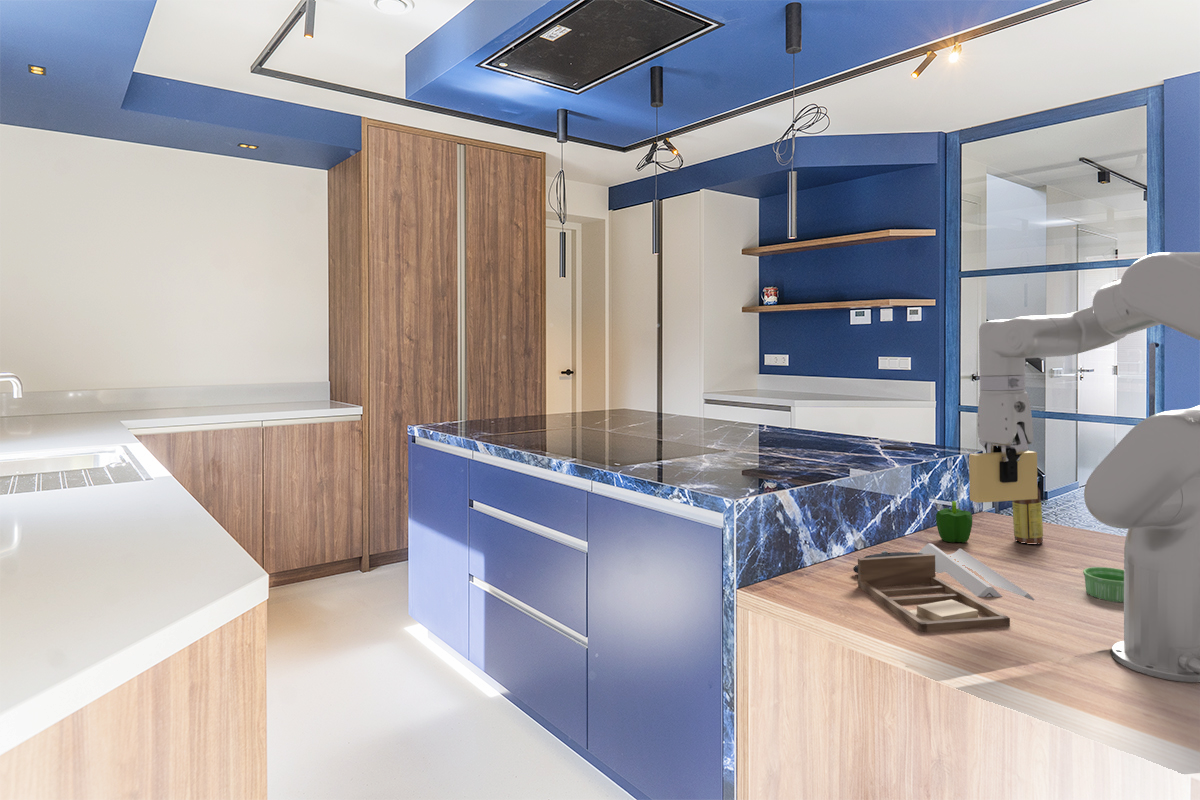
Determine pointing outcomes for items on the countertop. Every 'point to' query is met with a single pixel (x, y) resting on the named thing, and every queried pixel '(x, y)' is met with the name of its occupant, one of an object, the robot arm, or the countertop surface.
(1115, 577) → the ramekin
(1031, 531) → the sauce bottle
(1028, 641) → the countertop surface
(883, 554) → the can opener
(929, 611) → the offcut upper
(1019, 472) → the panel
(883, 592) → the rack
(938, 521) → the bell pepper
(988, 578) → the crown molding
